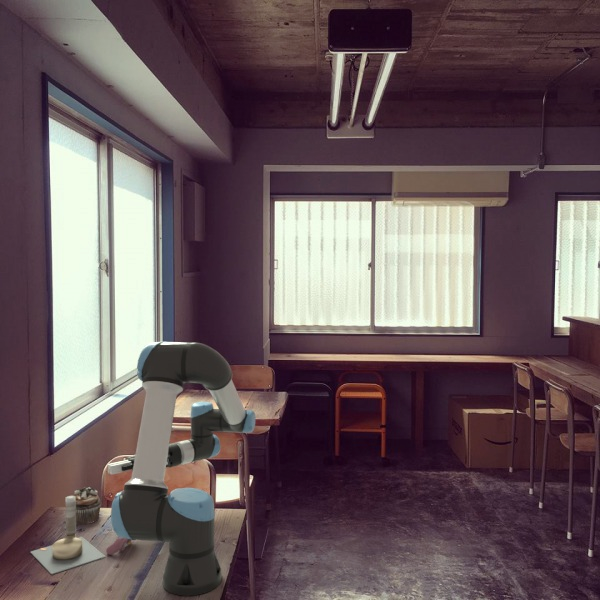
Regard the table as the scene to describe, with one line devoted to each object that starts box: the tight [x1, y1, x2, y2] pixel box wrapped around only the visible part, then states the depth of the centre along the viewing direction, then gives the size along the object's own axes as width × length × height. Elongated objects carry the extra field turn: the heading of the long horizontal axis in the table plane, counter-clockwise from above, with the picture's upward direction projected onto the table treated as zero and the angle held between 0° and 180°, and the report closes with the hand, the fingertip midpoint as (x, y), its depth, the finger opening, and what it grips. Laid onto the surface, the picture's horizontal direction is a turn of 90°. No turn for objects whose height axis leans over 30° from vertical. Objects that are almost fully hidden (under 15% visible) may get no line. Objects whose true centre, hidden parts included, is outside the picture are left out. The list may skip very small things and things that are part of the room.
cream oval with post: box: [52, 495, 82, 560], centre depth 176 cm, size 12×8×14 cm
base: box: [30, 536, 106, 576], centre depth 174 cm, size 17×15×1 cm
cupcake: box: [73, 485, 102, 524], centre depth 199 cm, size 10×10×10 cm
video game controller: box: [105, 536, 133, 556], centre depth 178 cm, size 10×5×7 cm, turn 169°
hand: (109, 469), depth 188 cm, fingers closed
